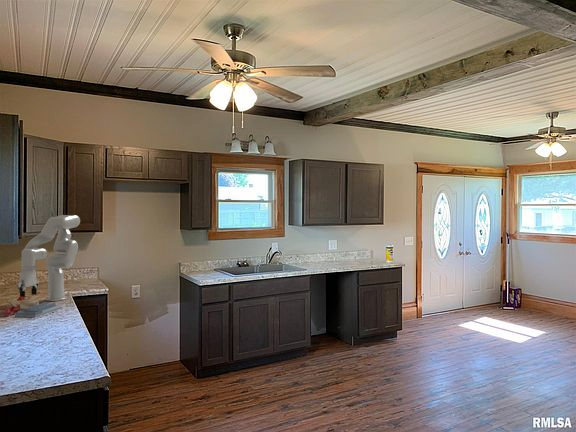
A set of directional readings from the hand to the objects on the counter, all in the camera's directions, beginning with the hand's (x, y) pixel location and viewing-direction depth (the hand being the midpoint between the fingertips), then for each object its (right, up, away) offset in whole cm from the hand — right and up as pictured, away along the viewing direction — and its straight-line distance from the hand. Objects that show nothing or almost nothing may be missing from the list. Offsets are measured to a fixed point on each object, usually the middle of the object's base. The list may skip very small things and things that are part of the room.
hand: (28, 295), depth 274 cm
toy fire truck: (-1, -9, -13) cm, 16 cm away
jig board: (+12, -8, -8) cm, 17 cm away
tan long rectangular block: (0, -8, +1) cm, 9 cm away
